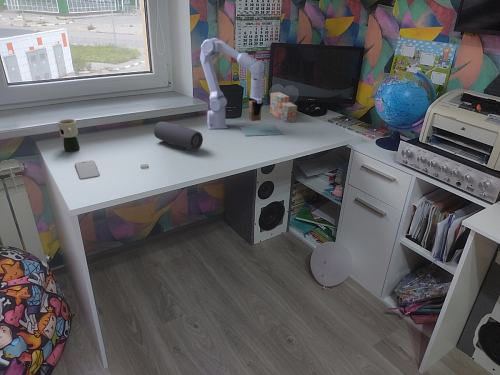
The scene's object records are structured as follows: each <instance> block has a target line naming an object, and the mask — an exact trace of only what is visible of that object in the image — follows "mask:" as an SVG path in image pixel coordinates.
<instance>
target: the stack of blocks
mask: <svg viewBox="0 0 500 375" xmlns="http://www.w3.org/2000/svg"><path fill="white" fill-rule="evenodd" d="M269 101H270V105H269V106H270V107H269V113H270V114H271V113H272V114H271V115H273V116H274V117H276V116H277V117H276V118H278V119H279V120H281V121H283V122H284V123H294V122H296V120H297V111H298V105H296V104H294V103H293V102H291V101H290V96H289V95H286V94H284V93H282V92H281V91H280V92H279V91H278V92H270V100H269Z"/></svg>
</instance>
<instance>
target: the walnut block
mask: <svg viewBox="0 0 500 375" xmlns="http://www.w3.org/2000/svg"><path fill="white" fill-rule="evenodd" d="M252 102H253V101H249V100H248V106H249V107H248V119H249V120H250V121H251V122H255V121H256V122H257V121H262V120H261V119H262V118H261V117H262V109H261V110H260V113H259V116H255V115H254V107H253V104H252Z"/></svg>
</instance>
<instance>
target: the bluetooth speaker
mask: <svg viewBox="0 0 500 375" xmlns="http://www.w3.org/2000/svg"><path fill="white" fill-rule="evenodd" d="M153 134H154V137H155V138H156V139H158V140H159V141H162V142H165V143H167V144H169V146H172V147H175V148H177V149H180V150H187V149H189V150H192V151H197V150H199V149H200V148H201V147H202V145H203V142H204V138H203V134H202V133H201V132H200V131H198V130H195V129H193V128H189V127H187V126H183V125H179V124H176V123H172V122H167V121H159V122H157V123H156V124H155V126H154V130H153Z"/></svg>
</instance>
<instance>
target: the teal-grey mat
mask: <svg viewBox="0 0 500 375" xmlns="http://www.w3.org/2000/svg"><path fill="white" fill-rule="evenodd" d="M239 129H240V130H241V131H242V133H243V134H244V136H245V137H259V136H260V137H261V136H262V137H263V136H264V137H265V136H283V135H284V133H283V132H282V131H281V130H280V128H279V127H278V126H277V125H276V124H275V125H256V126H255V125H253V126H251V125H250V126H239Z"/></svg>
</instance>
